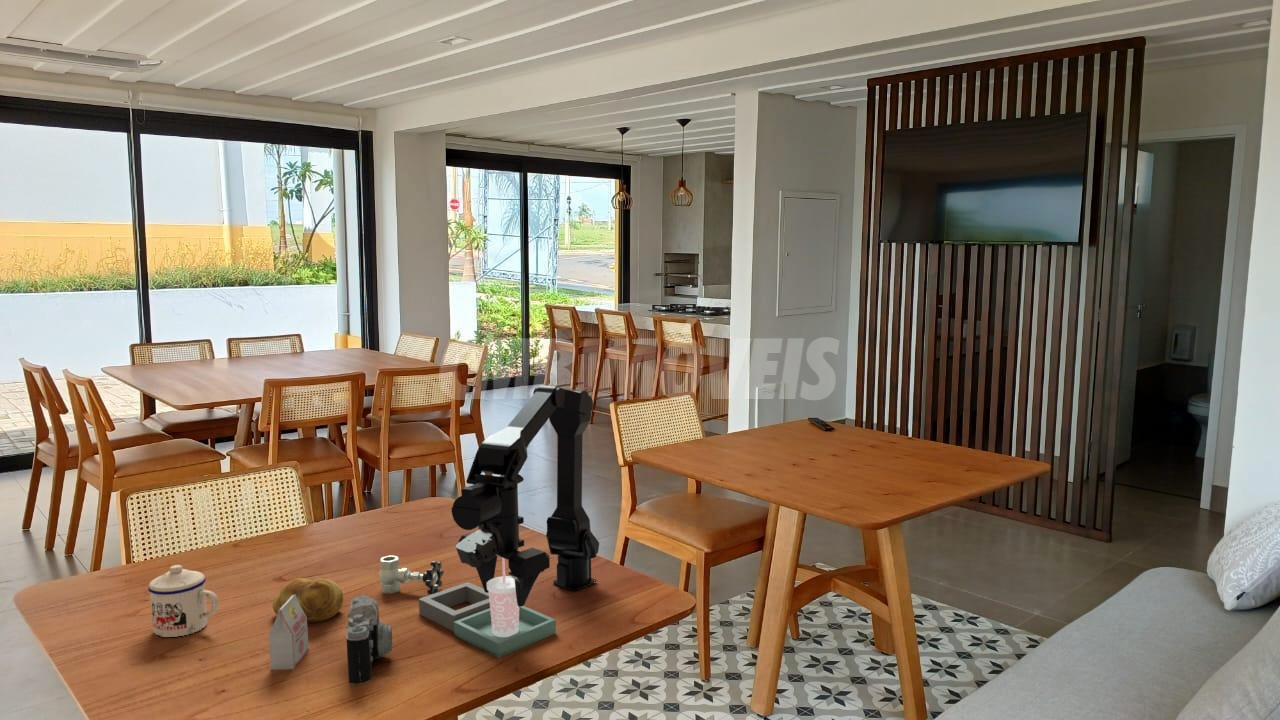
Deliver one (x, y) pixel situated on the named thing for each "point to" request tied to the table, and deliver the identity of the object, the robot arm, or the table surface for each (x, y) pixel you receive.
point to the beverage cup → (503, 605)
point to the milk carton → (288, 636)
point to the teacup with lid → (180, 602)
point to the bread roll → (312, 598)
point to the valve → (407, 575)
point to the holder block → (453, 604)
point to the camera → (365, 638)
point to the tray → (481, 636)
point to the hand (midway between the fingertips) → (504, 598)
